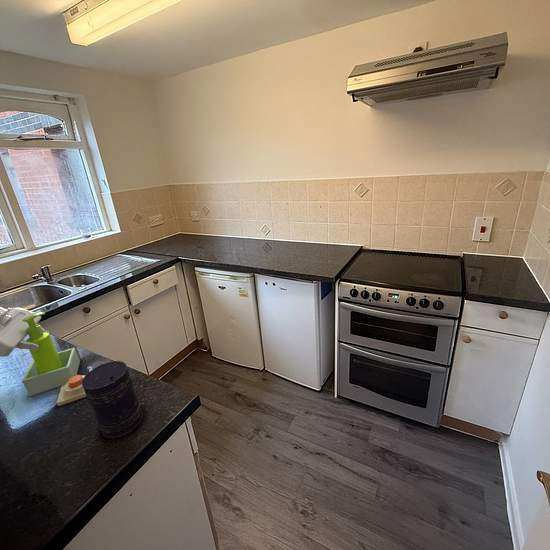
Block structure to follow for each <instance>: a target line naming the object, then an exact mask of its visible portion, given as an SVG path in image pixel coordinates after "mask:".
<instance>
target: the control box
mask: <svg viewBox="0 0 550 550" xmlns="http://www.w3.org/2000/svg"><path fill="white" fill-rule="evenodd" d="M85 375H86V374H85ZM85 375H83V374H82V375H81V376H82V378H84V377H85ZM84 398H87V397H86V395H85V391H84V388H83V386H82V384H81V385H79V386H78V387H75V388H70V386H69V384H68V382H67V383H66V384H65V385H62V386H60V390H59V394H58V397H57V399H56V404H55V405H57V407H60V406H63V405H66V404H70V403H72V402H75V401H78V400H80V399H84Z"/></svg>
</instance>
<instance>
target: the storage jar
mask: <svg viewBox="0 0 550 550" xmlns="http://www.w3.org/2000/svg"><path fill="white" fill-rule="evenodd" d="M133 382H134V381H133V379H132V376H131V373H130V371H129V368H128V365H127V363H125V362H124V361H122V360H121V361H120V360H114V361H110V362H105V363H103V364H100V365H98V366H96V367H94V368H93V369H91V370H90V371H88V372H87V373H86V374H85V377H84V378H83V380H82V386H83V388H84V391H85V395H86V397H85V398H86V399H87V403H89V405H90V406H91V407H92V409H93V411H94V417H95V419H96V423H97V425H98V427H99V429H100V431H101V433H102V435H103V436H104V437H105V438H108V439H115V438H120V437H123V436H125V435H127V434H129V433H130V432H132V431H133V430H134V429H136V427H137V426H139V425H140V423H141V422H142V419H143V417H144V411H143V409H142V406H141V405H142V404H141V402H140V399H139V398H138V395H137V393H136V392H135V389H134V383H133Z"/></svg>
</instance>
